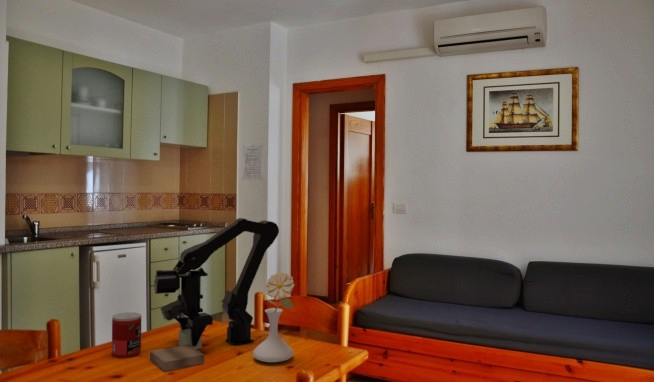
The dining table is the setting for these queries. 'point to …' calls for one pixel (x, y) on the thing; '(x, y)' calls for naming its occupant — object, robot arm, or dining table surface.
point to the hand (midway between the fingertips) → (190, 343)
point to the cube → (187, 339)
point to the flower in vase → (276, 320)
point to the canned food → (126, 334)
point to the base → (176, 357)
